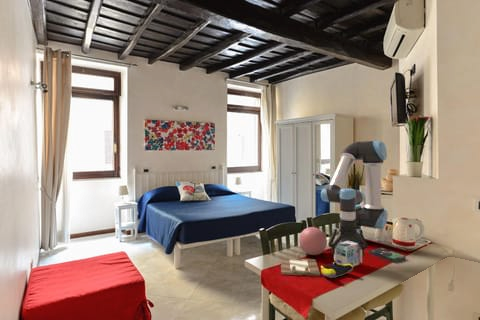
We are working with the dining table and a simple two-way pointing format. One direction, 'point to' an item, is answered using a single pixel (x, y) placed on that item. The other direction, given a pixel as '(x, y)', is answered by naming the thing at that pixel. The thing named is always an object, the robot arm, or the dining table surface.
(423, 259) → the dining table surface
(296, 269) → the pin board
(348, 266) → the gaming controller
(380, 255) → the disk drive
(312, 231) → the balloon
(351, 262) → the light bulb box
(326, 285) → the dining table surface
